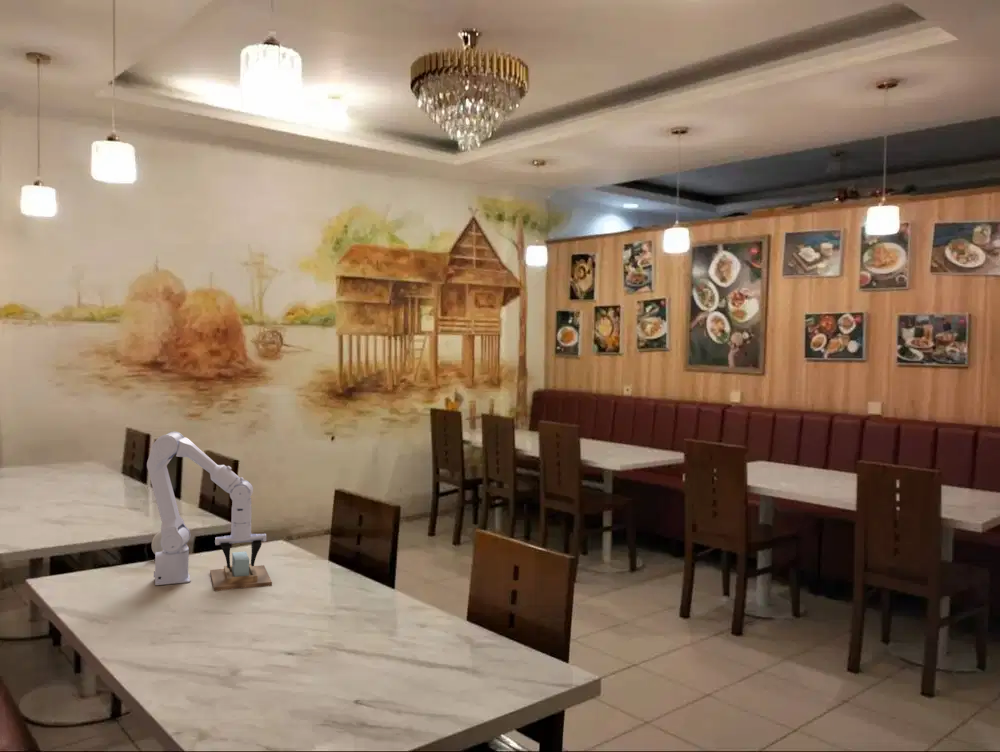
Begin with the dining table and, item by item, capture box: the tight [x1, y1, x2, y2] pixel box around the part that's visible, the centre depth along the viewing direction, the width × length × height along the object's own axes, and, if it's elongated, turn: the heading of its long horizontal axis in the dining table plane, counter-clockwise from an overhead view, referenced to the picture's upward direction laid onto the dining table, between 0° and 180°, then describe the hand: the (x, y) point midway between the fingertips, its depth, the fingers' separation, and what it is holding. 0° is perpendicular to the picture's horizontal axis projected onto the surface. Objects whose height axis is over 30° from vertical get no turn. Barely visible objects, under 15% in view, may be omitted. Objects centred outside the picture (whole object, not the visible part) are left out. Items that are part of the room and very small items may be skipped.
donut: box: [151, 529, 162, 555], centre depth 246 cm, size 10×4×10 cm, turn 139°
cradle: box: [209, 563, 273, 592], centre depth 226 cm, size 16×18×2 cm
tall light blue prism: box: [231, 551, 250, 577], centre depth 227 cm, size 4×9×6 cm, turn 25°
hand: (240, 566), depth 226 cm, fingers open, 6 cm apart
